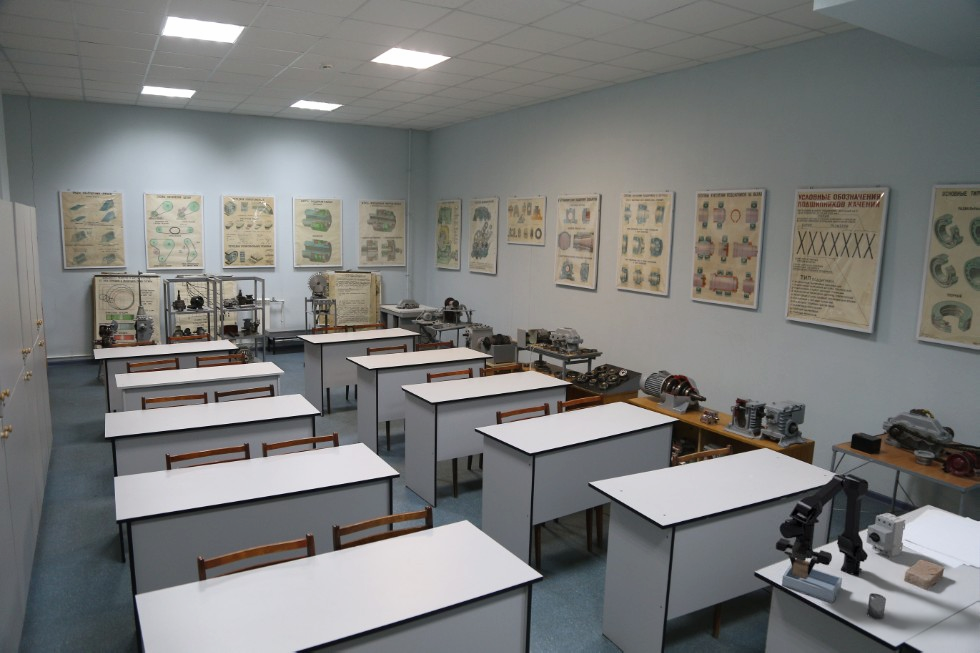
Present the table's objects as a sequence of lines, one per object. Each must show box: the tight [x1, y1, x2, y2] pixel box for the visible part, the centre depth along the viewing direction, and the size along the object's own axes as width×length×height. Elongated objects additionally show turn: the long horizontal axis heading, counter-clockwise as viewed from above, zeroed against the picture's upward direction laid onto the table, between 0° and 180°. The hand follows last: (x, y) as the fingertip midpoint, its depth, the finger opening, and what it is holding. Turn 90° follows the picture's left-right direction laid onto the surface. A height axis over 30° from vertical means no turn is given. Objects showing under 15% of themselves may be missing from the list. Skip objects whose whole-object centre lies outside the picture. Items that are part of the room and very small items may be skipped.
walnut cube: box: [792, 558, 810, 579], centre depth 244 cm, size 5×5×5 cm
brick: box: [903, 559, 945, 590], centre depth 250 cm, size 16×8×5 cm, turn 127°
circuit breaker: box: [866, 512, 906, 558], centre depth 270 cm, size 8×14×15 cm, turn 115°
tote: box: [781, 563, 843, 604], centre depth 243 cm, size 14×18×4 cm
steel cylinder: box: [866, 592, 887, 621], centre depth 225 cm, size 5×5×7 cm
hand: (801, 571), depth 245 cm, fingers closed on walnut cube, 5 cm apart
